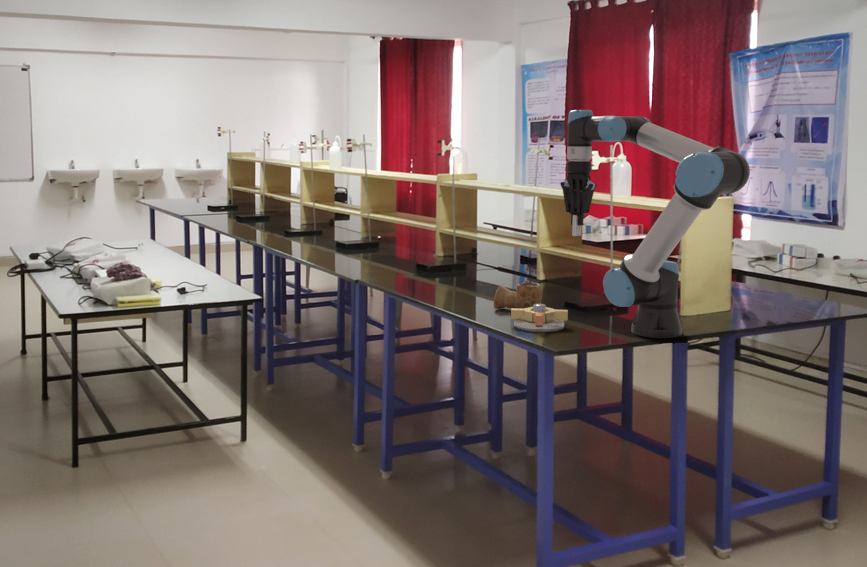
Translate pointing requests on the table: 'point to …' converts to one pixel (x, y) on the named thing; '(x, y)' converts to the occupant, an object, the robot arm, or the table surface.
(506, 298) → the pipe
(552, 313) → the star wheel
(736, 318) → the table surface
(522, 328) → the star wheel turntable
